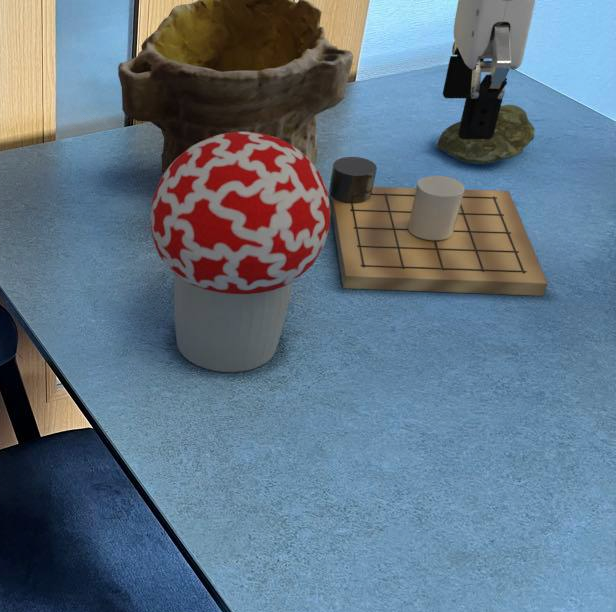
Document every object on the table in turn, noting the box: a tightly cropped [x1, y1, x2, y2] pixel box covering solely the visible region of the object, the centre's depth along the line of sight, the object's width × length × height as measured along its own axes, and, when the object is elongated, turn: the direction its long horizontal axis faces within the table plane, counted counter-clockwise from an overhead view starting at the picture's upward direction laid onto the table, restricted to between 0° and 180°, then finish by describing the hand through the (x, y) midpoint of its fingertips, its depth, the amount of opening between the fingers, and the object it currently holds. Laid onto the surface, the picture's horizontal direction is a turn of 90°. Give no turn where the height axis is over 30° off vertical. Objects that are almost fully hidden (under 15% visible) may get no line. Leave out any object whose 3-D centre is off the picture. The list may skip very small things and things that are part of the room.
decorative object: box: [149, 132, 331, 373], centre depth 92 cm, size 16×16×20 cm
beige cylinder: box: [408, 175, 466, 240], centre depth 109 cm, size 5×5×5 cm
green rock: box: [436, 104, 536, 165], centre depth 127 cm, size 10×7×10 cm
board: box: [328, 186, 548, 297], centre depth 112 cm, size 20×20×2 cm
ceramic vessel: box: [117, 0, 354, 175], centre depth 113 cm, size 23×24×25 cm
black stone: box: [328, 156, 378, 203], centre depth 116 cm, size 5×5×3 cm
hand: (466, 116), depth 102 cm, fingers open, 9 cm apart
